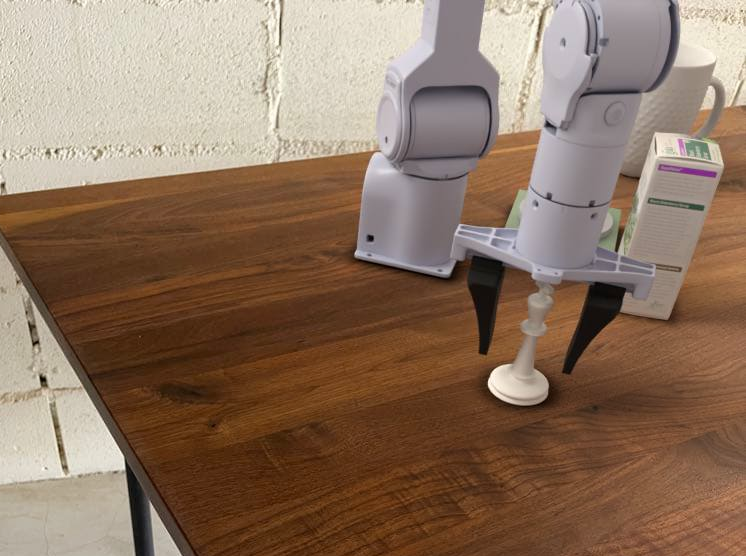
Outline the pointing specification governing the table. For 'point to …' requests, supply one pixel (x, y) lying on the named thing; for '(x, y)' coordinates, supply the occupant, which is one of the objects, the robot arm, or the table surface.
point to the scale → (608, 230)
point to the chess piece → (525, 357)
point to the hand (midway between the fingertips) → (525, 357)
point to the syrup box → (670, 215)
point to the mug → (675, 104)
